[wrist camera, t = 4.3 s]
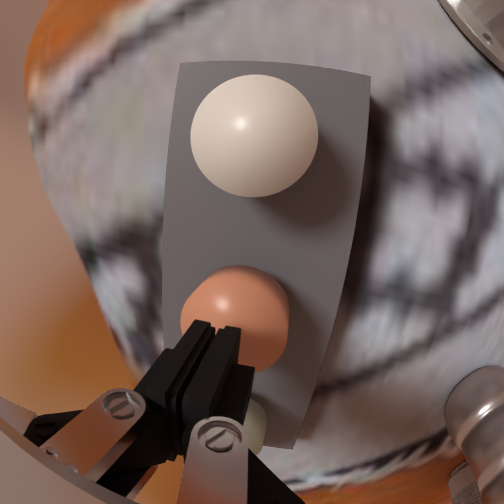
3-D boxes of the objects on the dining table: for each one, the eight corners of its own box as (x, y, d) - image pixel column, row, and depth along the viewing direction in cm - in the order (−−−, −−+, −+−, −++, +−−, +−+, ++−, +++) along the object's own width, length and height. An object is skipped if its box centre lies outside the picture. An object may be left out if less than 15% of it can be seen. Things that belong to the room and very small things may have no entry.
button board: (362, 88, 12) (370, 76, 10) (294, 430, 18) (292, 449, 17) (194, 74, 13) (180, 63, 11) (180, 406, 20) (171, 423, 18)
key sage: (272, 399, 14) (267, 424, 12) (262, 442, 15) (257, 465, 13) (195, 383, 15) (183, 406, 13) (196, 427, 16) (187, 449, 14)
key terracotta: (297, 273, 12) (296, 291, 10) (281, 356, 13) (277, 382, 11) (198, 257, 13) (180, 272, 11) (195, 339, 14) (181, 362, 12)
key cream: (319, 96, 10) (323, 80, 8) (308, 200, 11) (310, 205, 9) (214, 88, 11) (198, 74, 9) (203, 187, 12) (184, 190, 10)
